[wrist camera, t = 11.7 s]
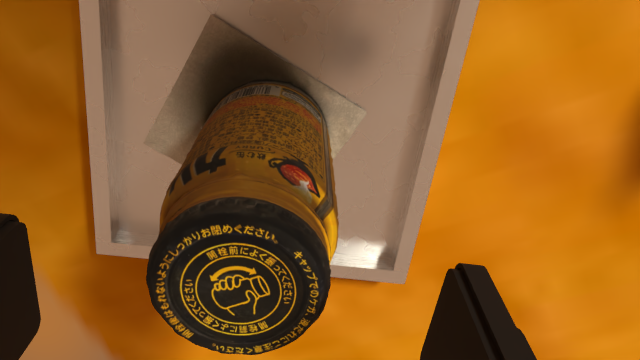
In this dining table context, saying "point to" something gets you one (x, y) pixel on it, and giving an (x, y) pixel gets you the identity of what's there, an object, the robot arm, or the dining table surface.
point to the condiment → (246, 196)
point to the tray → (313, 59)
